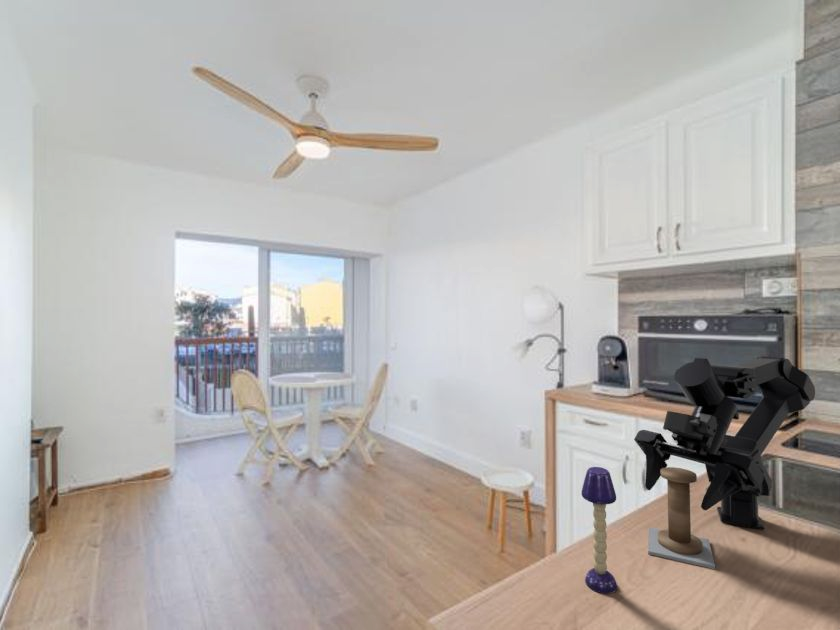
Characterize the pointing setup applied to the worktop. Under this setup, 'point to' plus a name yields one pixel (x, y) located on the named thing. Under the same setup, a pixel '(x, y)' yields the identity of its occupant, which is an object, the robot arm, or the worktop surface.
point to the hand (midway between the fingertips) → (673, 498)
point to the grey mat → (699, 559)
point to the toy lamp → (599, 526)
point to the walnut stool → (679, 513)
